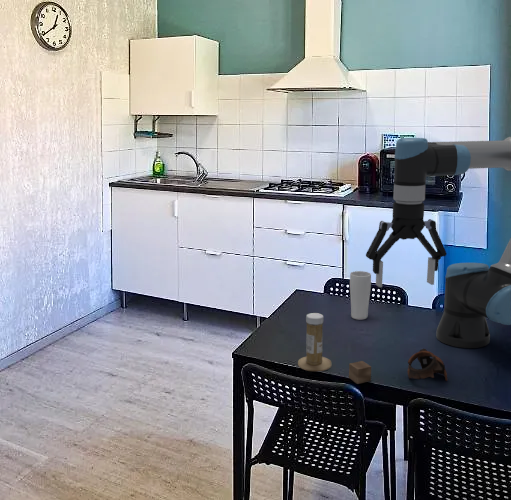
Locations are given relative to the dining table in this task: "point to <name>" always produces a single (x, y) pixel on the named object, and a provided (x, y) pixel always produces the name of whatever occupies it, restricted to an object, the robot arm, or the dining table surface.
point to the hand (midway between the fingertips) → (404, 284)
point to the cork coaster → (321, 367)
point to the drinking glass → (360, 294)
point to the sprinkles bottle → (314, 338)
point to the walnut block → (359, 372)
